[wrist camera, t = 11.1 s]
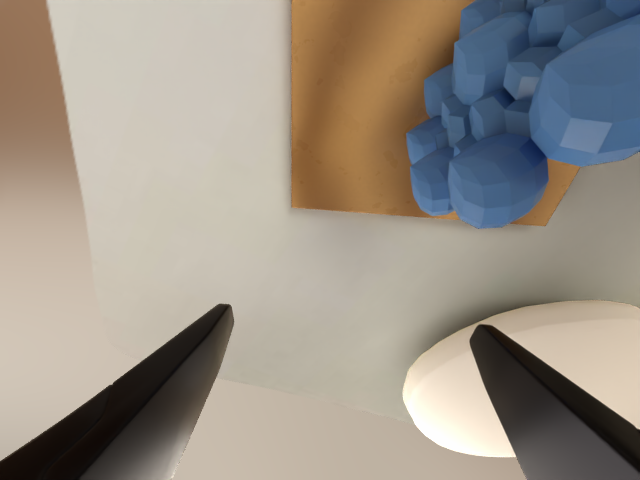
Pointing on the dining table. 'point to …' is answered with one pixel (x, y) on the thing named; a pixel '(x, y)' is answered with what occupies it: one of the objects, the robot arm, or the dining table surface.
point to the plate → (544, 342)
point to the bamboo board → (373, 103)
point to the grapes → (526, 104)
